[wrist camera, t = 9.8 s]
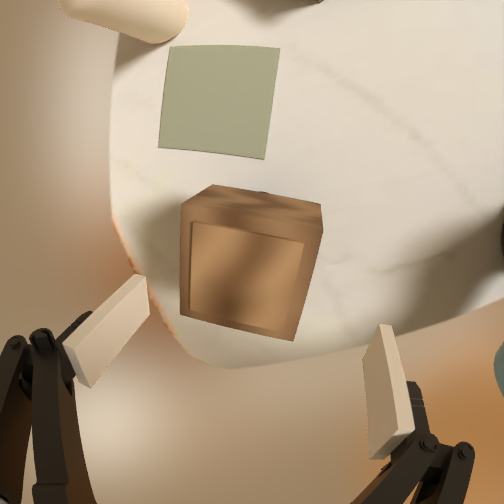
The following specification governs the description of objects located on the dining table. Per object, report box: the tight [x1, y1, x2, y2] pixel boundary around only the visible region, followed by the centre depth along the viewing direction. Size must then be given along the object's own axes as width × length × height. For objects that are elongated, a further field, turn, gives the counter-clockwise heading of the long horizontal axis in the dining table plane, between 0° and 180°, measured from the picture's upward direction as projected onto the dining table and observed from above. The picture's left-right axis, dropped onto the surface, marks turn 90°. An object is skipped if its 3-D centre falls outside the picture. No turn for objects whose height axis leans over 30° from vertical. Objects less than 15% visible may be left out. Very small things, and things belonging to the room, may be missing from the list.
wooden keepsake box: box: [180, 185, 323, 341], centre depth 28 cm, size 12×12×8 cm
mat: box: [159, 45, 280, 159], centre depth 35 cm, size 16×16×1 cm
